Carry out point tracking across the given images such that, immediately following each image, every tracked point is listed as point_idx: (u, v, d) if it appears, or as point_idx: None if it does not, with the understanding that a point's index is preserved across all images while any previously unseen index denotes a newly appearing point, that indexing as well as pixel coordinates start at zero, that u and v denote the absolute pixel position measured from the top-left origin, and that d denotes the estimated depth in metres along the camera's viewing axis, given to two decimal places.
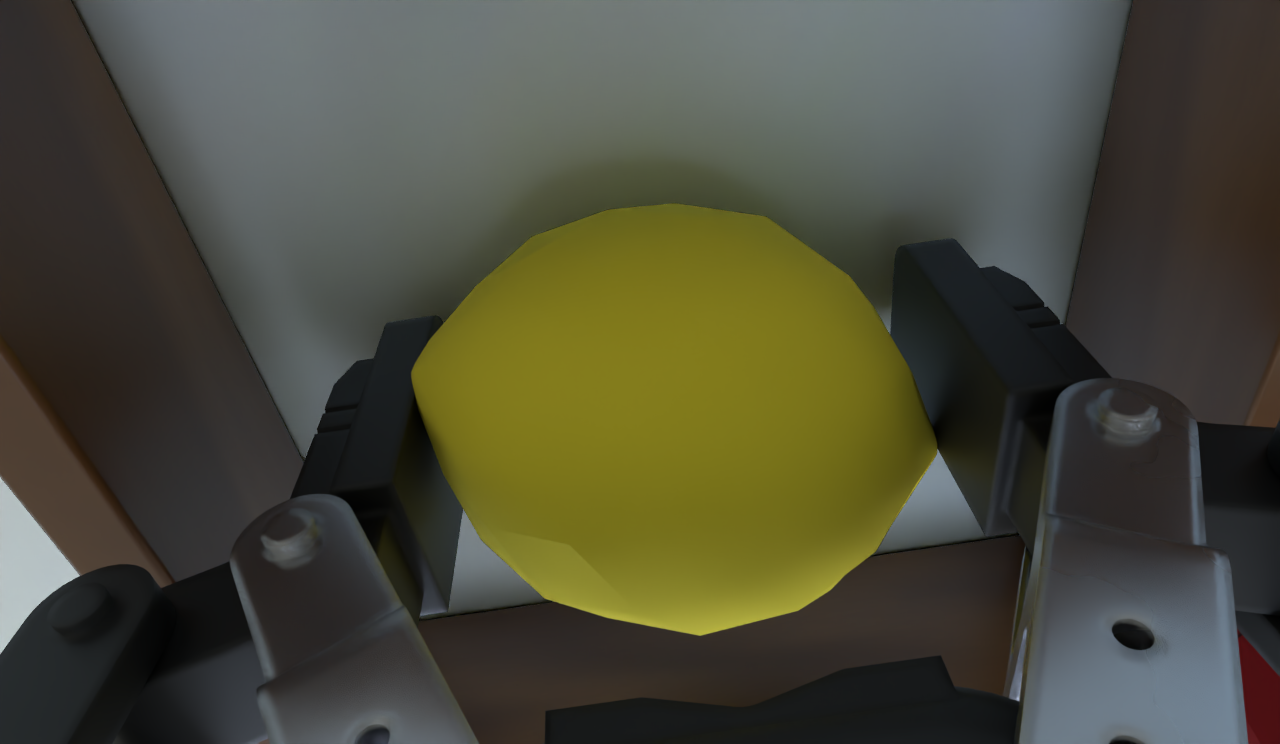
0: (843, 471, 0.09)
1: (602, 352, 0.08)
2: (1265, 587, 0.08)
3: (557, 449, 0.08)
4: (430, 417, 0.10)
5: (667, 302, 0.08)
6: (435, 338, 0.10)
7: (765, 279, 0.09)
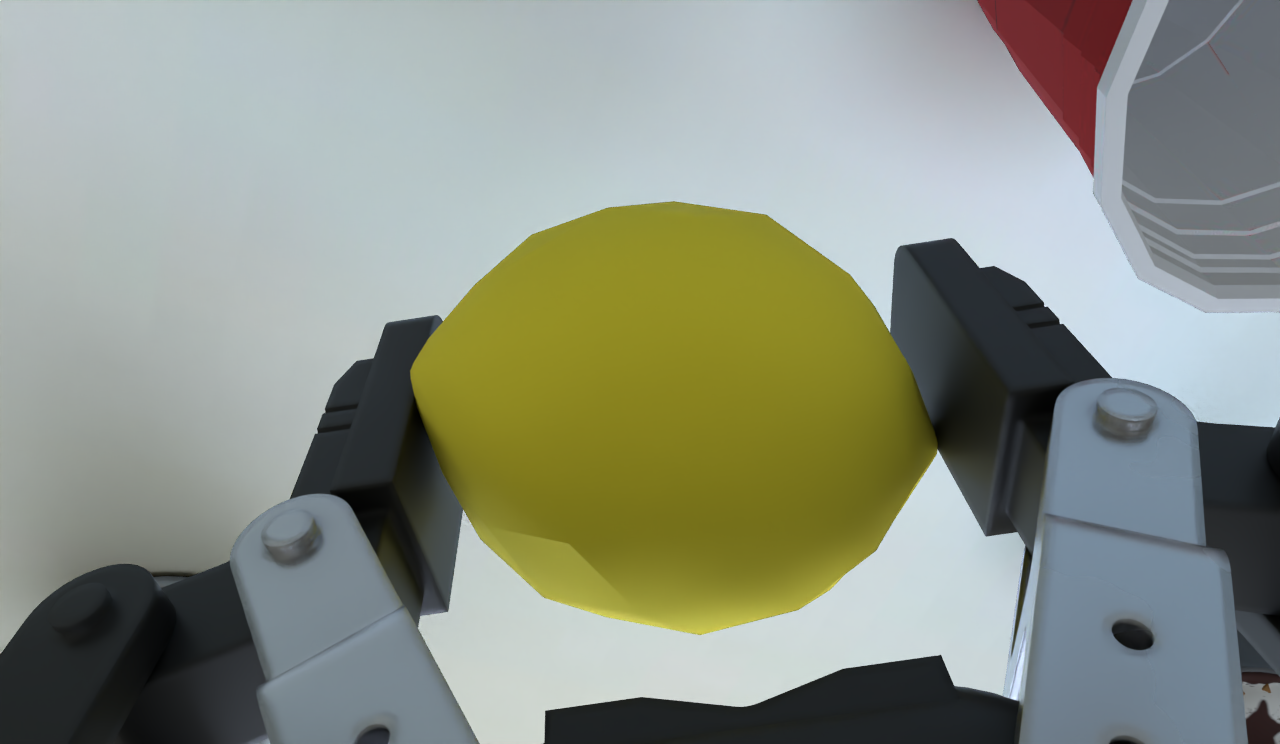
0: (843, 469, 0.09)
1: (601, 349, 0.08)
2: (1264, 587, 0.08)
3: (557, 448, 0.08)
4: (429, 416, 0.09)
5: (666, 301, 0.08)
6: (434, 337, 0.10)
7: (765, 278, 0.09)
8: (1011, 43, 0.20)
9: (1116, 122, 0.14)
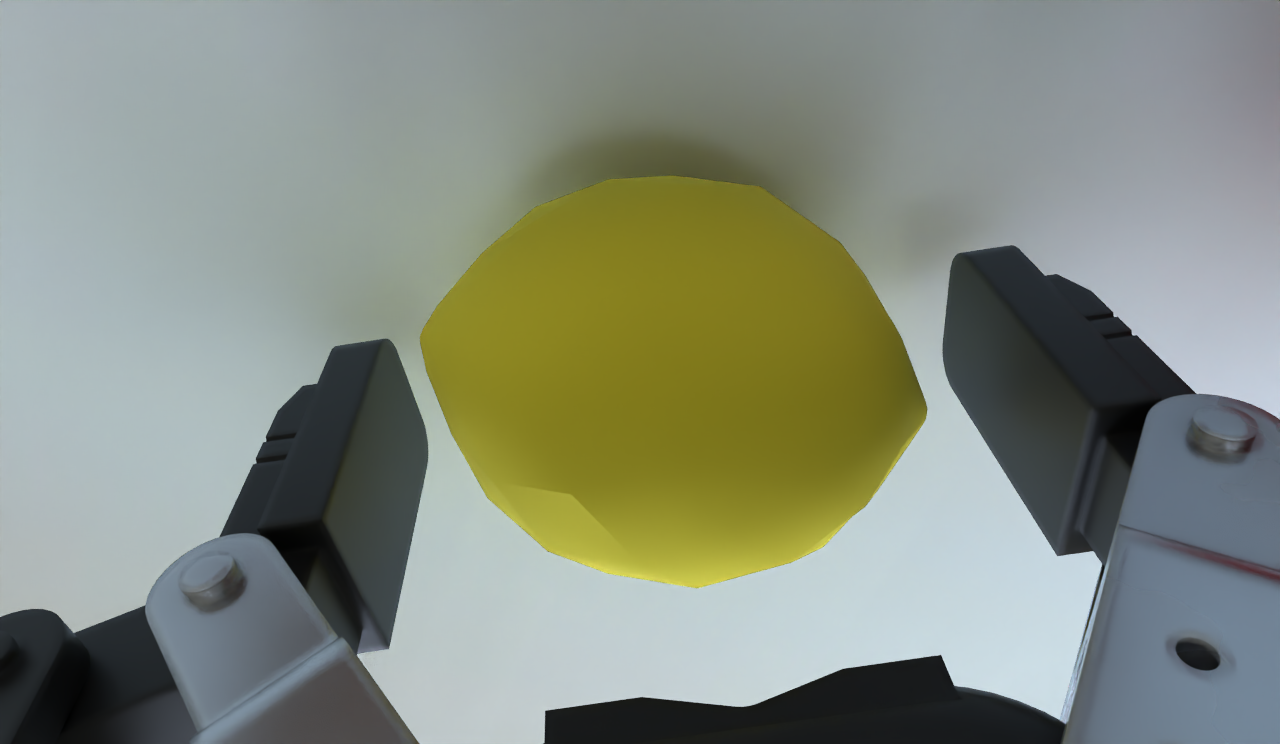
0: (832, 424, 0.09)
1: (602, 310, 0.09)
2: None
3: (559, 404, 0.09)
4: (438, 378, 0.10)
5: (664, 263, 0.09)
6: (443, 303, 0.10)
7: (758, 243, 0.09)
8: None
9: None
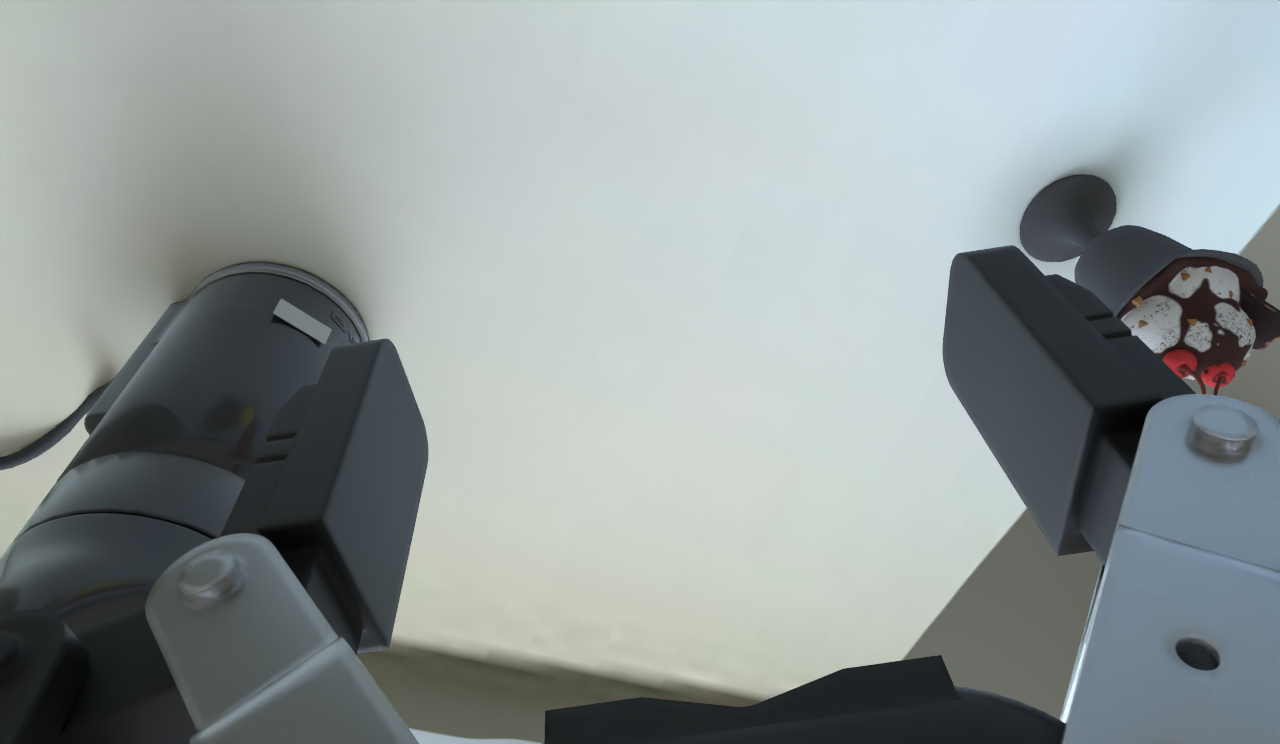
0: None
1: None
2: None
3: None
4: None
5: None
6: None
7: None
8: None
9: None
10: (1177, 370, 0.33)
